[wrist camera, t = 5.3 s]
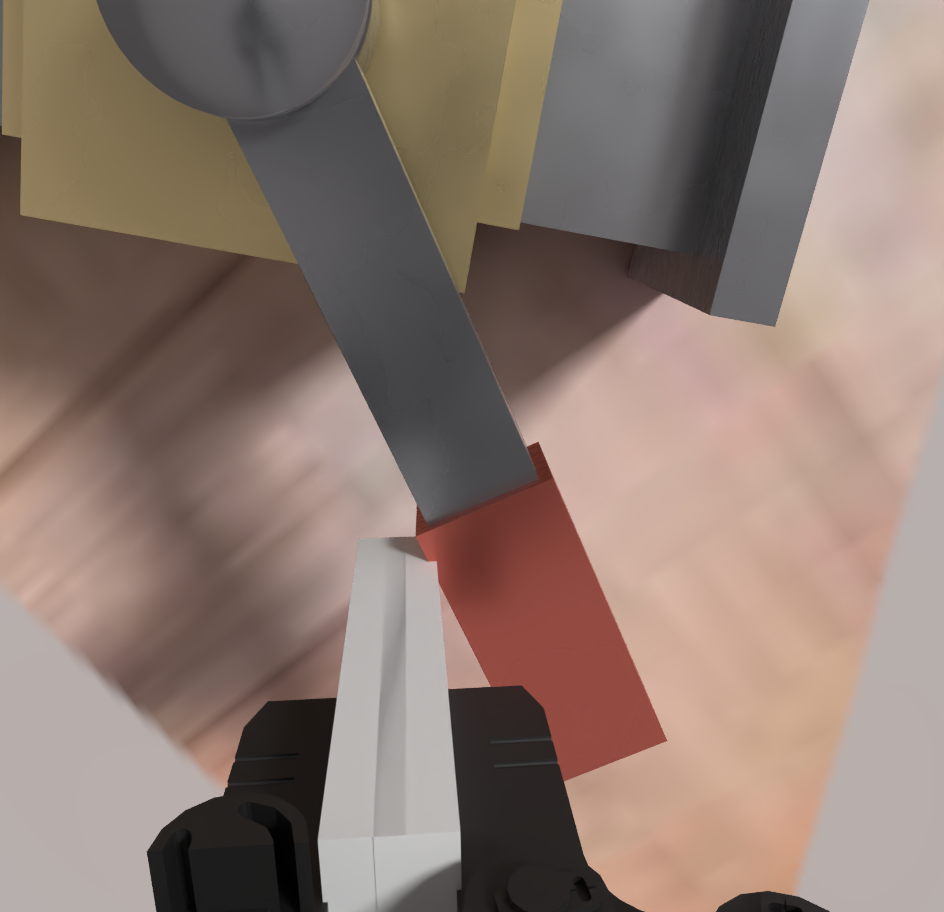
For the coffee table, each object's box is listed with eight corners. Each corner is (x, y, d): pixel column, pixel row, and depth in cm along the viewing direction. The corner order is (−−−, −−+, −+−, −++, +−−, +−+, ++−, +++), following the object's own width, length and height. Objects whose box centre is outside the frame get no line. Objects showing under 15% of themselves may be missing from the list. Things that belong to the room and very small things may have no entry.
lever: (110, -58, 12) (32, -116, 9) (316, -163, 11) (288, -250, 9) (504, 723, 16) (516, 813, 14) (662, 659, 16) (701, 741, 13)
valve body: (-95, -200, 17) (-432, -447, 10) (748, -14, 19) (922, -122, 12) (-87, 160, 19) (-364, 146, 12) (671, 297, 21) (783, 349, 14)
